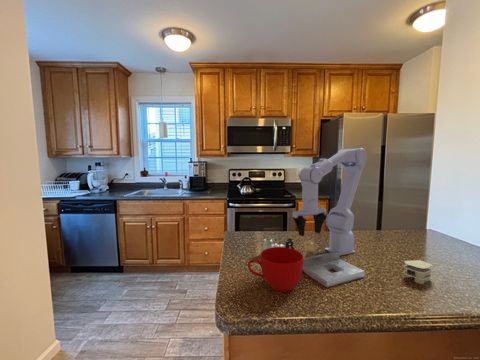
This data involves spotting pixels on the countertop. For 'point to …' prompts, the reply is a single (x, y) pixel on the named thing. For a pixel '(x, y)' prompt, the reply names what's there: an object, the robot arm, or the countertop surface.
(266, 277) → the ceramic cup
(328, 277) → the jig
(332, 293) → the countertop surface
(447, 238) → the countertop surface
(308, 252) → the brass cylinder
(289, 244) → the valve
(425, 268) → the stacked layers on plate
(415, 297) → the countertop surface
